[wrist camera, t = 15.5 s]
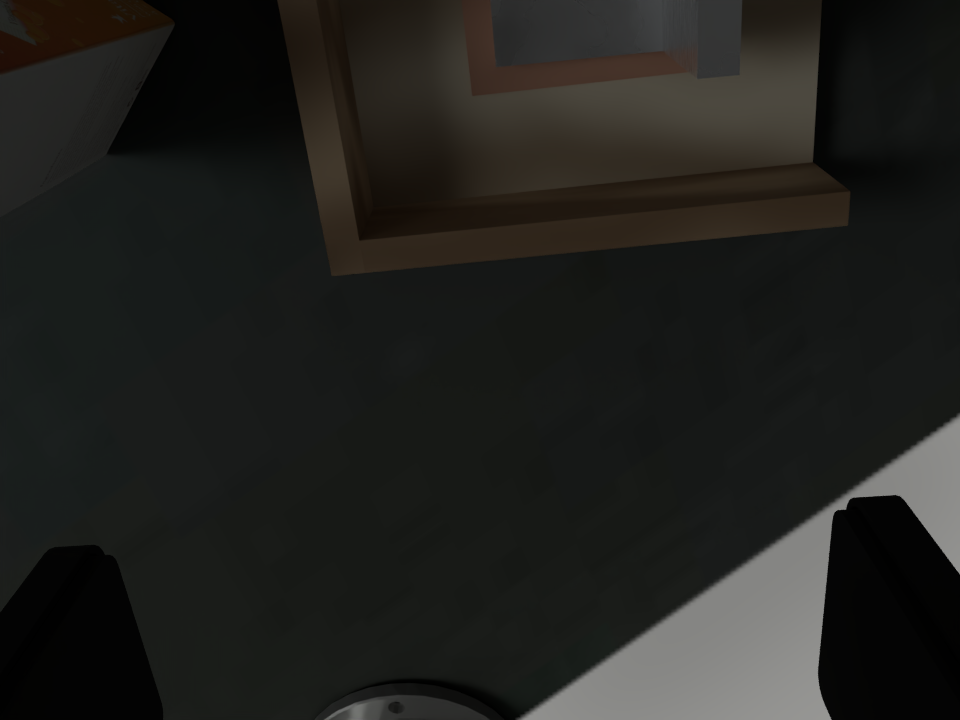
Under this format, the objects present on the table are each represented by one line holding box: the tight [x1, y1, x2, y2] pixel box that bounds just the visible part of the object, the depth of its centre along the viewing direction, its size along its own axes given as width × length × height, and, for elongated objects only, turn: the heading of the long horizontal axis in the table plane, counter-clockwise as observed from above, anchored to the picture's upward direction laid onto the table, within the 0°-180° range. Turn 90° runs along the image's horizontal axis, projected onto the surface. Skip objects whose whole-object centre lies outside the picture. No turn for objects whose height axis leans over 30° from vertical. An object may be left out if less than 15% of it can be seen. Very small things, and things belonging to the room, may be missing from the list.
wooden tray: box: [277, 0, 850, 276], centre depth 30 cm, size 16×18×5 cm
